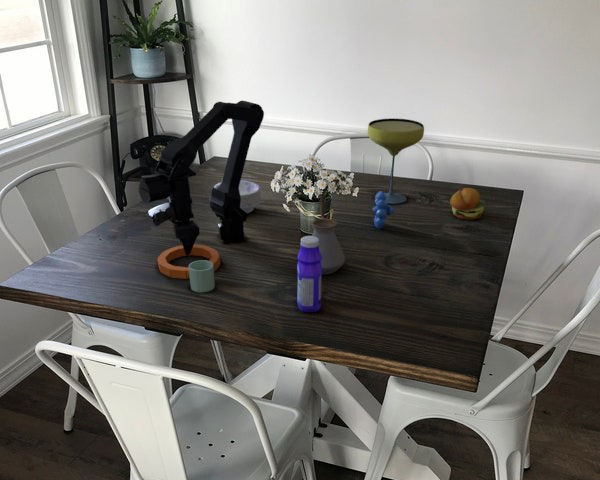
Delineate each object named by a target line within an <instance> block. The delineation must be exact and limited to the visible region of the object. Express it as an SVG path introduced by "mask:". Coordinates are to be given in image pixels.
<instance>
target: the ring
mask: <svg viewBox="0 0 600 480" xmlns="http://www.w3.org/2000/svg"><path fill="white" fill-rule="evenodd" d="M188 256H189V257H190V256H198V257H204V258H206V259H209V260H208V261H210V262H212V263H213V265H214V273H215V272H216V271H217V270H218V269H219V267H220V266H221V255H220V254H219V252H218V249H216V248H213V247H211V246H208V245H204V244H194V245H193V248H192V250H191V253H190V255H186V254H185V251H184V248H183V245H176V246H174V247H171V248H168V249H166V250H163V251H162V252H161V253H160V254H159V255H158V257H157V265H158V268H159V272H160V273H161V274H163V275H165V276H167V277H169V278H172V279H182V280H190V276H189V266H186V267H185V266H179V265H177V266H176V265H174V264H173V265H172V264H171V263H170V262H171V261H173V260H176V259H178V258H181V257H188Z"/></svg>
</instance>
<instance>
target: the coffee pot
mask: <svg viewBox="0 0 600 480" xmlns="http://www.w3.org/2000/svg"><path fill="white" fill-rule="evenodd" d="M319 198H320V199H319ZM317 200H318V201H319V204H320V207H319V211H320V218H317V219H314V220H312V222H311V226H312V227H313V231H312V234H311V236H314V237H317V238H318V239H319V251H320V253H321V255H322V259H321V260H320V261H321V266H322V274H321V275H330V274H333V273H336V272H337V271H338V270H340V269H341V268H342V267H343V266H344V263H345V262H346V256H345V254H344V252H343V249H342V247H341V245H340V242H339V240H338V237H337V235H336V231H335V230H336V227H337V226H338V225H339V223H338V222H337V221H336V220H334V219H331V218H325V212H326V211H325V209H326V207H325V201H326V200H327V197H326V196H324V195H322V194H321V195H320V196H318V198H317Z"/></svg>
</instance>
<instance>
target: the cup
mask: <svg viewBox="0 0 600 480" xmlns="http://www.w3.org/2000/svg"><path fill="white" fill-rule="evenodd" d="M188 267H189V276H190V279H189V286H190V290H191V291H193V292H195V293H208V292H211V291H212V290H214V289H215V287H216V282H215V280H216V279H215V272H214V265H213V263H212V262H210V261H209V260H206V259H204V260H203V259H199V260H194V261H192V262H190V263H189V264H188Z"/></svg>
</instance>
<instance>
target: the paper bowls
mask: <svg viewBox="0 0 600 480" xmlns="http://www.w3.org/2000/svg"><path fill="white" fill-rule="evenodd" d="M221 183H222V181H220V182H218V183H216V184H215V185H214V186H213V187H214V188H216V189H217V188H218V187H219V186H220V184H221ZM261 191H262V189H261V186H260V185H259V184H258V183H256V182H253V181H249V180H242V179H241V181H240V185H239V192H240V197H241V203H240V208H241V209H242V210H244V211H245V212H246V213H247V214H249V213H251V212H253V211H254V209H255V207H258V206H259V205H261V202H262V200H261V199H262V195H261V194H262V192H261Z"/></svg>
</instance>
